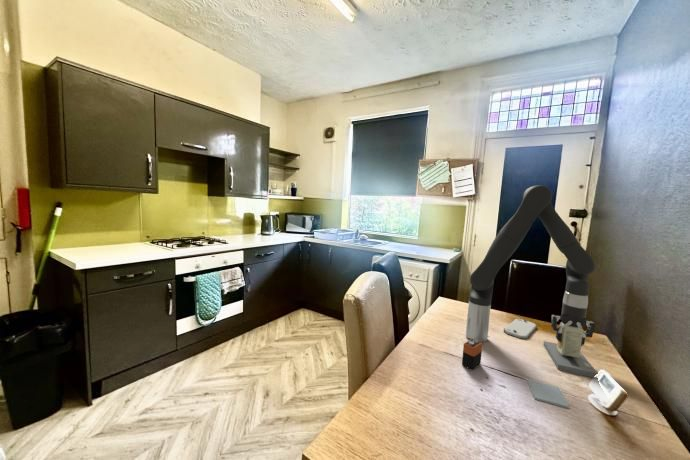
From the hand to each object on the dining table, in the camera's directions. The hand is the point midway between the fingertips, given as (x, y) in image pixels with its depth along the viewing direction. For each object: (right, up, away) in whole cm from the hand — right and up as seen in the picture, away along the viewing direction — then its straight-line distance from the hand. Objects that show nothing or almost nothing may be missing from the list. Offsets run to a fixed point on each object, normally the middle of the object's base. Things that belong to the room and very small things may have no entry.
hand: (569, 342), depth 110 cm
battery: (-43, -7, -5) cm, 44 cm away
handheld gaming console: (-2, -5, +27) cm, 28 cm away
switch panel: (0, -7, +1) cm, 8 cm away
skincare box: (0, -5, +1) cm, 5 cm away
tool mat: (-25, -9, -20) cm, 33 cm away
